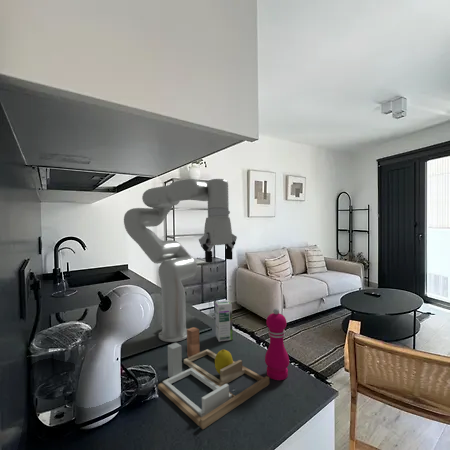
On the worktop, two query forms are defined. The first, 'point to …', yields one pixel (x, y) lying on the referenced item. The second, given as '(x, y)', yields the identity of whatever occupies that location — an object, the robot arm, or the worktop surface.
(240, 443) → the worktop surface
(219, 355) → the lemon
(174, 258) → the robot arm
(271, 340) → the pepper mill
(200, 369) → the frame
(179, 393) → the frame
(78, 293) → the worktop surface
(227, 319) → the syrup box
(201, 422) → the lane bed
